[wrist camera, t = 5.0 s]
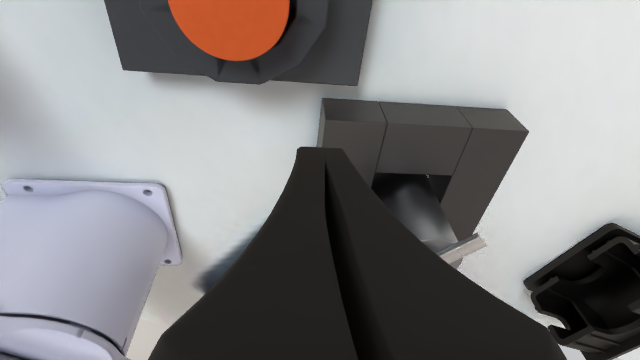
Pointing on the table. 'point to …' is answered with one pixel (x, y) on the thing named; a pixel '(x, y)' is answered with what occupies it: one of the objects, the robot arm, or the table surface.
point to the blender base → (428, 148)
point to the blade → (423, 214)
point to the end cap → (594, 294)
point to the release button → (232, 25)
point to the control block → (276, 64)
